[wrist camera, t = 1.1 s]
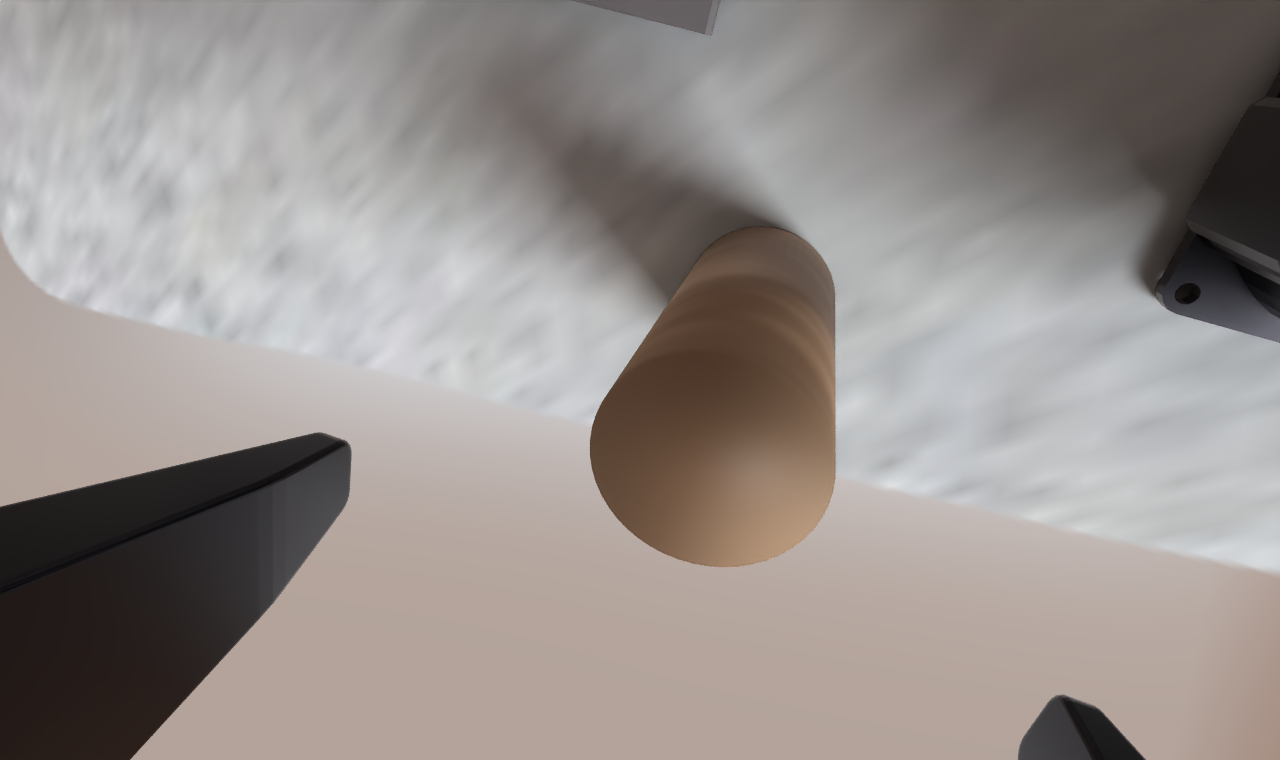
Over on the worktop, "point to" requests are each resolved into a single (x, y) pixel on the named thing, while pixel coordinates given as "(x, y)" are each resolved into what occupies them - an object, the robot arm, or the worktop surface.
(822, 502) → the walnut cylinder
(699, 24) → the white mini table
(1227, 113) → the worktop surface
